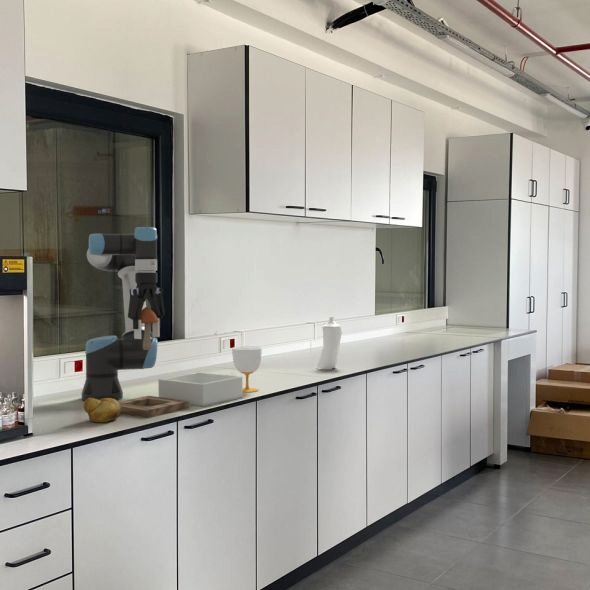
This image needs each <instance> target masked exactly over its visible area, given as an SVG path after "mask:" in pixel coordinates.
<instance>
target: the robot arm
mask: <svg viewBox="0 0 590 590" xmlns="http://www.w3.org/2000/svg"><path fill="white" fill-rule="evenodd" d="M86 259H87V261H88V263H89V264H90V265H91V267H93V268H95V269H97V270H101V271H105V272H117V276H118V278H119V279H121V281H122V293H123V295H122V296H123V297H122V298H123V309H124V325H125V331H124V333H122V335H121V339H120V338H118V336H117V335H105V336H100V337H99V336H98V337H94V338H91V339H88V340H87V341H86V342H85V352H84V354H85V381H84V385H83V388H82V392H81V400H82V401H85V400H86V399H87V398H89V397H90V398H94V399H98V400H100V399H102V398H112V399H115V400H116V401H119V400H120V399H123V398H124V392H123V388H122V386H121V382H120V380H119V373H118V372H119V371H122V370H123V371H124V370H127V371H128V370H145V369H146V370H147V369H153V368H154V366H155V365H156V362H157V355H158V347H159V346H158V345H159V344H158V338H160V337H161V336H160V335H161V333H160V332H161V331H160V330H161V329H160V328H161V326H162V323H161V319H162V318H163V317H164V316H165V315H166V310H165V303H164V298H163V297H164V296H163V293H164V288H163V287H158V286H157V283H158V272H156V271H158V233H157V228H156V227H154V226H138V227H135V228H134V233H100V232H98V233H91V234H89V236H88V249H87V251H86ZM147 301H148V303H149V306H150V309H151V310H152V311H153V312H154V313H155V314H156V316H157V318H158V320H159V321H158V322H156V323H152V331H151V330H150V338H151V349H150V350H143V340H144V323H141V320H139V318H140V314H141V311H142V310H143V309H144V308H145V307H147Z"/></svg>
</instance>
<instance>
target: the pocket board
mask: <svg viewBox="0 0 590 590" xmlns="http://www.w3.org/2000/svg"><path fill="white" fill-rule="evenodd" d="M117 402H118V403H119V404H120V406H121V410H120V411H121V412H120V414H119V415H126V416H132V417H139V418H146V419H147V418H148V419H149V418H153V417H156V416H157V417H158V416H161V415H165V414H166V415H167V414H171V413H174V412H175V413H176V412H179V411H183V410H188V409H190V405H189V401H184V400H176V399H169V398H162V397H159V396H155V395H154V396H151V395H146V396H141V397H135V398H131V399H130V398H129V399H125V400H120V401H117Z"/></svg>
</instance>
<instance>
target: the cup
mask: <svg viewBox="0 0 590 590" xmlns="http://www.w3.org/2000/svg"><path fill="white" fill-rule="evenodd" d="M262 350H263V349H262V347H260V346H235V347H232V348H231V351H232V362H233V365H234V367H235V369H236V370H237V371H238V372H239V373H241V374H243V375H244V376H245V387H244V388H243V387H242V393H255V392H258V391H259V389H258V388H253V387H249V376H250V375H251V374H253V373H254V372H256V371H258V369H259V368H260V365H261V362H262V353H263V352H262Z"/></svg>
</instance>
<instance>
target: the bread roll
mask: <svg viewBox="0 0 590 590" xmlns="http://www.w3.org/2000/svg"><path fill="white" fill-rule="evenodd" d="M83 401H84V400H83ZM118 402H119V401H118V400H115V399H112V398H102V399H100V400H98V399H94V398H90V397H89V398H87V399H86V400H85V401H84V402H83V409H84V412H85V413H87V416H88V418H89V420H90V421H91V422H93V423H106V422H109V421H114V420H117V419H119V417H120V415H121V414H120V412H121V411H120V410H121V406H120V404H119V403H118Z"/></svg>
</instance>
